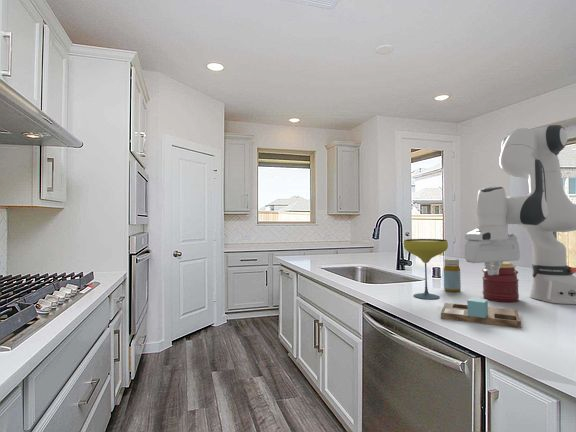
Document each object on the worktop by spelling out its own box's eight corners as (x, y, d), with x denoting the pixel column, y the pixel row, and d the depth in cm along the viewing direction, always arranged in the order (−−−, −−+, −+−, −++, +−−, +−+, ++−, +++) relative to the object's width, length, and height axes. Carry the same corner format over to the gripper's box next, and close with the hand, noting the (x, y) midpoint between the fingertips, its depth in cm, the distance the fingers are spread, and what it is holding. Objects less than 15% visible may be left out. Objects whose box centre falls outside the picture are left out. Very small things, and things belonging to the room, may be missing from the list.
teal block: (487, 314, 113) (487, 299, 113) (484, 318, 109) (484, 302, 109) (471, 312, 116) (471, 297, 116) (467, 315, 112) (467, 300, 112)
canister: (525, 303, 134) (524, 259, 134) (489, 302, 136) (488, 258, 137) (510, 295, 147) (509, 255, 147) (478, 295, 149) (477, 255, 149)
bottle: (463, 292, 155) (462, 259, 155) (448, 292, 155) (447, 260, 156) (456, 288, 162) (455, 258, 162) (441, 289, 162) (441, 258, 163)
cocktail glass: (401, 291, 158) (400, 239, 158) (442, 292, 155) (440, 238, 156) (409, 301, 140) (407, 241, 141) (455, 302, 138) (453, 241, 138)
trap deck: (517, 315, 117) (517, 309, 117) (521, 328, 105) (521, 321, 105) (445, 307, 129) (445, 302, 129) (440, 318, 116) (440, 312, 116)
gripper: (507, 233, 120) (509, 271, 119) (460, 234, 114) (461, 275, 114) (524, 233, 114) (525, 274, 113) (475, 235, 108) (476, 278, 108)
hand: (493, 274), depth 114 cm, fingers closed
